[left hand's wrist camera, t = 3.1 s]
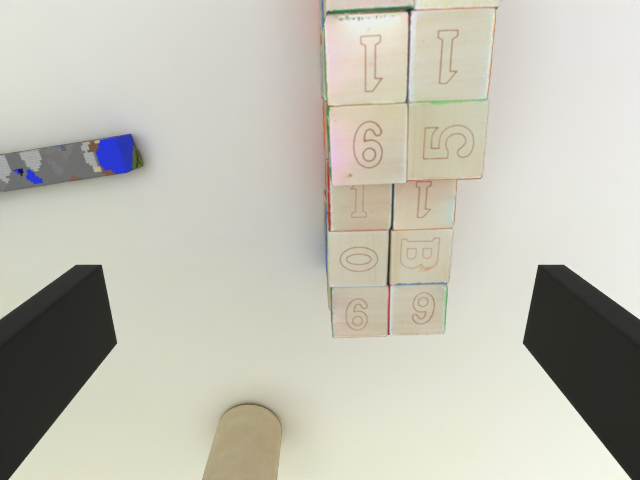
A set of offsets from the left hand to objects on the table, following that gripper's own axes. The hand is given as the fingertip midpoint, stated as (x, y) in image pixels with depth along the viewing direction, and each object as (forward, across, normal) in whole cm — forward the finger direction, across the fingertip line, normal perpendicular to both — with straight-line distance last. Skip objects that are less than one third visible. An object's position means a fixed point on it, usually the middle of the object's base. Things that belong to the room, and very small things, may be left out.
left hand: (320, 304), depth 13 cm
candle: (+17, +6, +22) cm, 28 cm away
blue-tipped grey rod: (+17, +22, -1) cm, 28 cm away
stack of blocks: (+17, -3, -4) cm, 18 cm away
